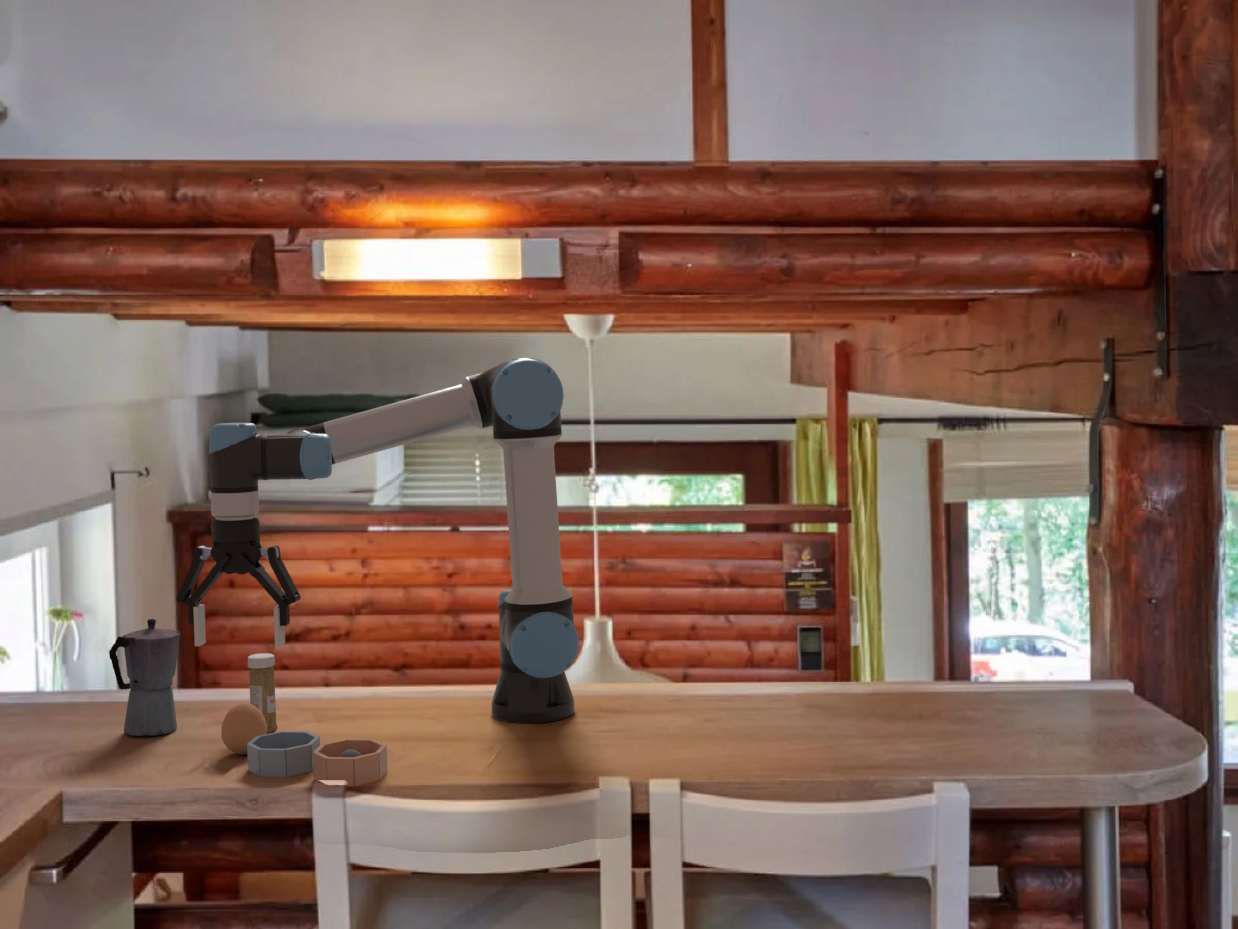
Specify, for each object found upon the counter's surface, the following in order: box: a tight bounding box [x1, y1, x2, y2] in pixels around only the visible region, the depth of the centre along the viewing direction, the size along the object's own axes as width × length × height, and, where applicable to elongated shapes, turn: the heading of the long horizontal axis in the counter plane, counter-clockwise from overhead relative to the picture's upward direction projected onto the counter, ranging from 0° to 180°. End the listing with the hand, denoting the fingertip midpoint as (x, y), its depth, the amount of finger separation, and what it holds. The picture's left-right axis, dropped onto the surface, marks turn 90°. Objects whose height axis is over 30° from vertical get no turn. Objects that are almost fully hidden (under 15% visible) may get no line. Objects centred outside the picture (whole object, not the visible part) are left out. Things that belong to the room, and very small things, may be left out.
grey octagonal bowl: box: [247, 730, 321, 778], centre depth 211 cm, size 10×10×5 cm
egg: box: [220, 702, 268, 756], centre depth 221 cm, size 7×7×8 cm
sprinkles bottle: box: [247, 652, 278, 734], centre depth 235 cm, size 5×5×14 cm
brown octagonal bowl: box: [313, 738, 388, 787], centre depth 206 cm, size 10×10×5 cm
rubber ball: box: [339, 749, 362, 757], centre depth 206 cm, size 4×4×4 cm
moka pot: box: [108, 618, 182, 737], centre depth 234 cm, size 10×15×20 cm, turn 155°
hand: (240, 645), depth 220 cm, fingers open, 13 cm apart
